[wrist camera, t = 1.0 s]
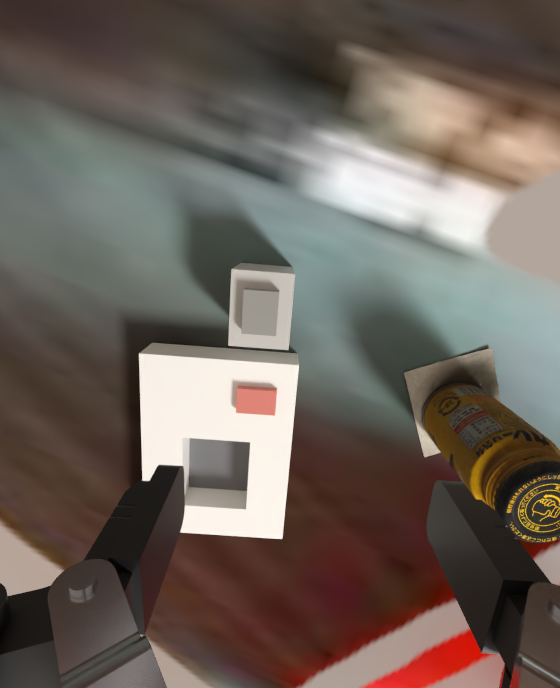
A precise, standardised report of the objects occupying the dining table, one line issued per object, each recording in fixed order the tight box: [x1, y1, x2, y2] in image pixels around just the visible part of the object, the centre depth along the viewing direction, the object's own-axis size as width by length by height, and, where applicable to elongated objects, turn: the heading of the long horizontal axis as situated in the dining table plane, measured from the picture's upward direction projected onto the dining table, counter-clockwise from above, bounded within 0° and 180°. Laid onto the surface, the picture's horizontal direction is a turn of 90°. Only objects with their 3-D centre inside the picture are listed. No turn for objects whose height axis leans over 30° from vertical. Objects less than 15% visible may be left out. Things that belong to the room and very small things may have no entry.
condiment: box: [404, 348, 560, 543], centre depth 27 cm, size 7×8×12 cm
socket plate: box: [139, 343, 299, 539], centre depth 31 cm, size 16×12×4 cm
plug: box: [228, 263, 295, 350], centre depth 27 cm, size 5×4×7 cm
